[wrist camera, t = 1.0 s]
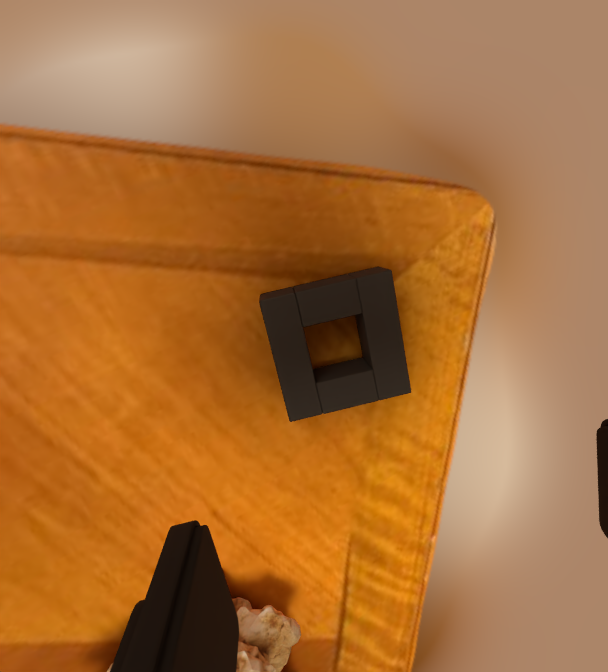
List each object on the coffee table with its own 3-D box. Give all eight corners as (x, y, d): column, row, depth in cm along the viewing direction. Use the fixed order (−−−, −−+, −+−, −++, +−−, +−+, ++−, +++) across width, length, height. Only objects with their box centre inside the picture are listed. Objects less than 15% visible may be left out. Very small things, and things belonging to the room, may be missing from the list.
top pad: (259, 294, 22) (258, 300, 20) (379, 266, 23) (391, 269, 20) (287, 404, 24) (289, 422, 22) (398, 378, 24) (411, 392, 22)
